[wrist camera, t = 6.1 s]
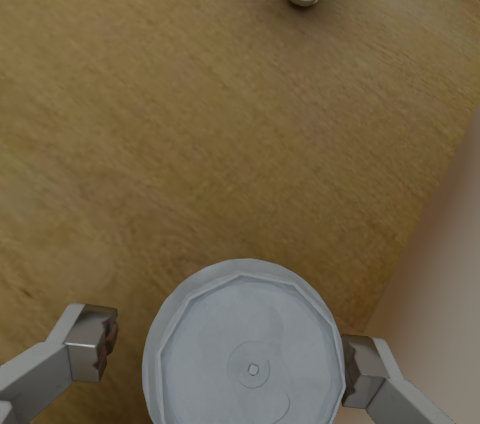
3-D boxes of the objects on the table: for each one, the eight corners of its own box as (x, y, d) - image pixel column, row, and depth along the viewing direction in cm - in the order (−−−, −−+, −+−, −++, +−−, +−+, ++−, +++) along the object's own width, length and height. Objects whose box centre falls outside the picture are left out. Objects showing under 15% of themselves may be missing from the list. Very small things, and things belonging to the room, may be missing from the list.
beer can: (239, 267, 19) (299, 220, 7) (275, 343, 18) (407, 425, 6) (164, 303, 18) (97, 313, 6) (198, 386, 17) (190, 574, 5)
